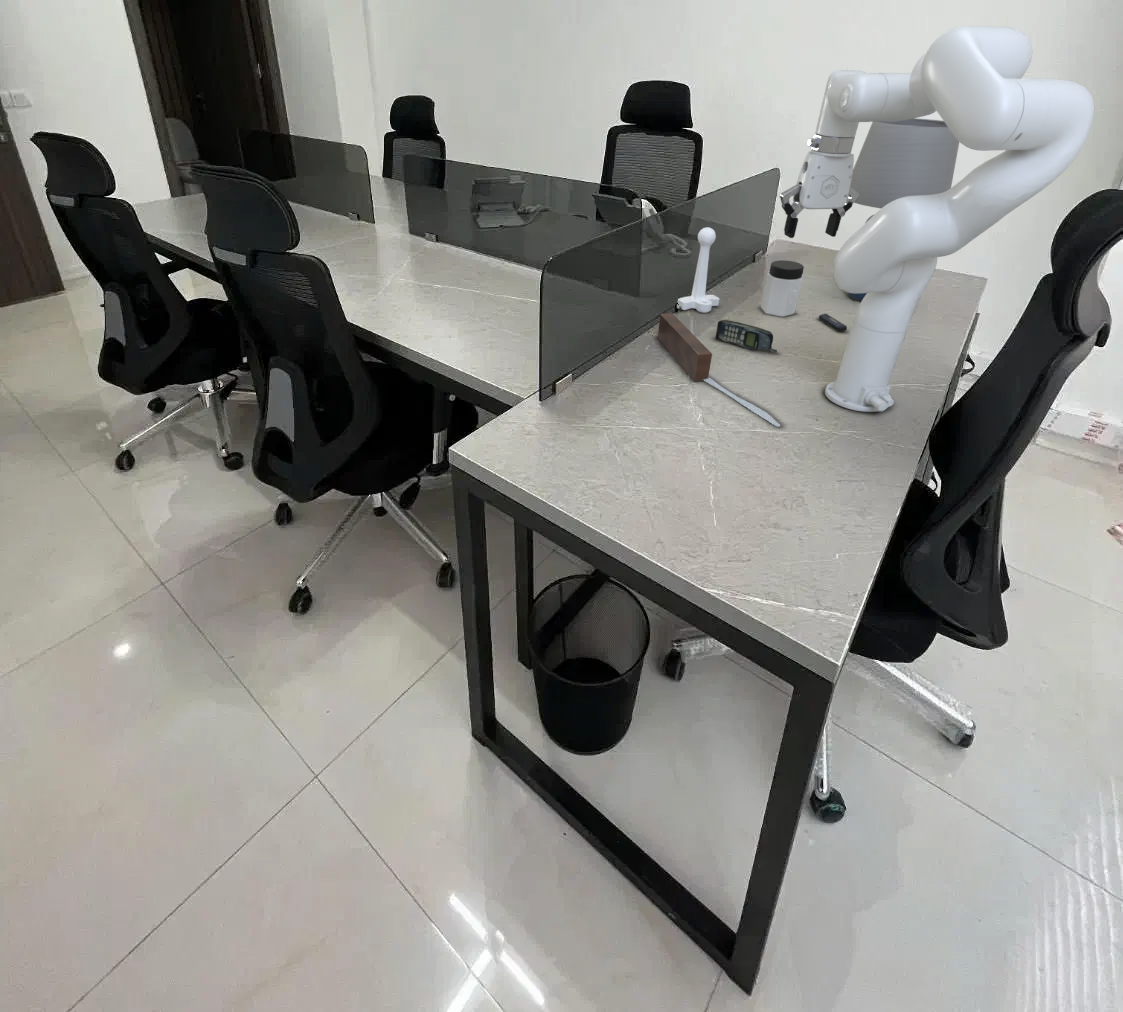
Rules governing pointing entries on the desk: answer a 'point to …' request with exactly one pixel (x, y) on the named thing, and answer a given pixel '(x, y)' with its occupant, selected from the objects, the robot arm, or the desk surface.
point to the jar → (782, 288)
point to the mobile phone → (745, 335)
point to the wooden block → (684, 347)
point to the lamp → (903, 163)
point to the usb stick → (833, 322)
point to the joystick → (701, 277)
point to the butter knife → (743, 402)
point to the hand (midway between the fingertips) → (809, 235)
